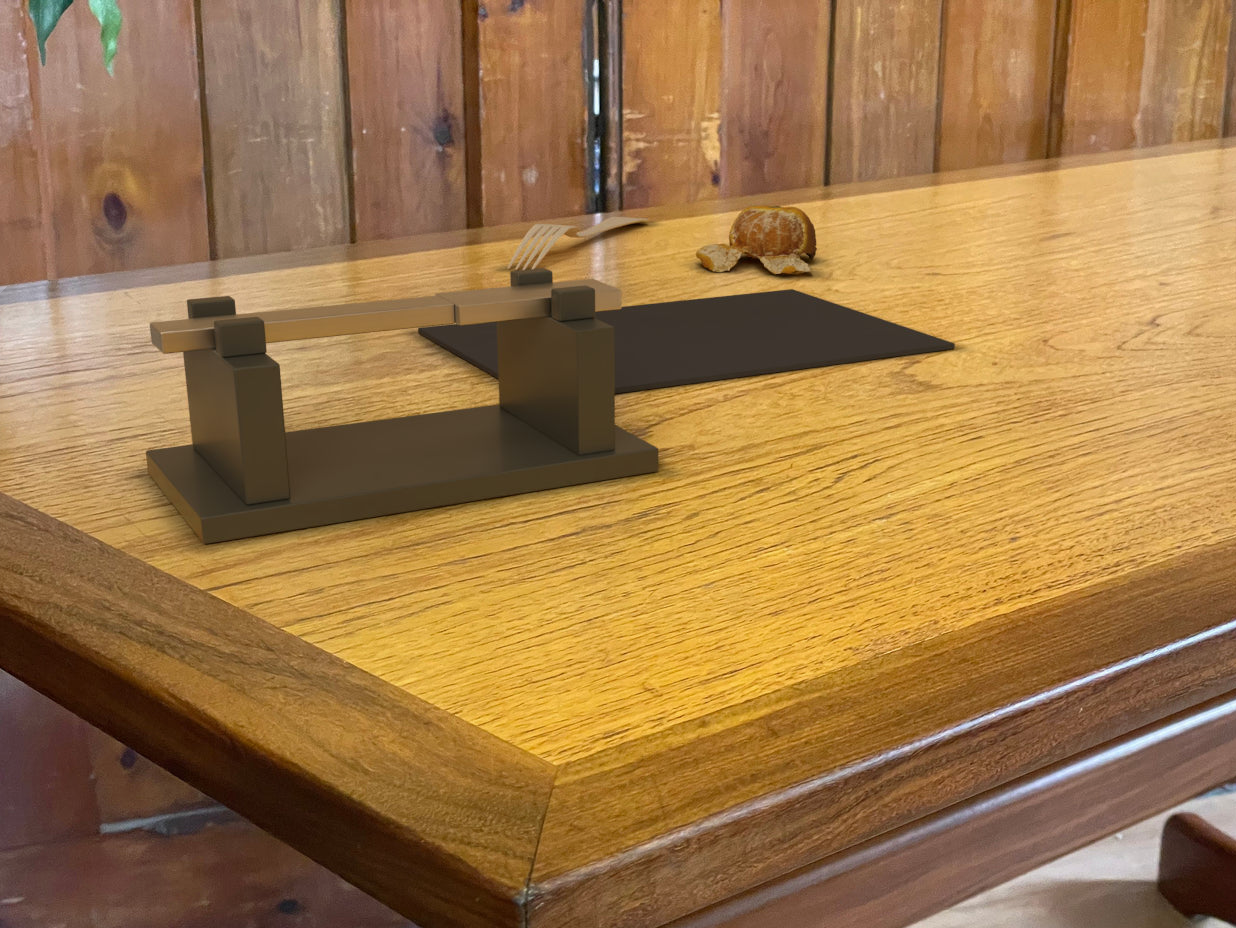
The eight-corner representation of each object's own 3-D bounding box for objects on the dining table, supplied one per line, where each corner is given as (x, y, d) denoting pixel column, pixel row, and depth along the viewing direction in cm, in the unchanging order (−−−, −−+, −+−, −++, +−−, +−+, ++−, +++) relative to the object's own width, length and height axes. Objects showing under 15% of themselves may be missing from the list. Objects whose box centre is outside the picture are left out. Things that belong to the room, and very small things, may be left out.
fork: (653, 254, 123) (654, 217, 122) (539, 271, 103) (540, 227, 103) (619, 251, 124) (620, 215, 123) (499, 268, 104) (500, 225, 104)
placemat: (540, 403, 74) (540, 397, 74) (418, 333, 87) (417, 327, 87) (954, 348, 85) (955, 343, 85) (792, 293, 98) (792, 289, 98)
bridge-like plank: (165, 357, 56) (162, 334, 56) (148, 341, 58) (146, 320, 58) (622, 309, 65) (622, 289, 65) (593, 297, 67) (593, 278, 67)
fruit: (686, 269, 105) (686, 212, 104) (731, 248, 112) (732, 195, 111) (806, 280, 102) (808, 222, 101) (844, 258, 110) (847, 204, 108)
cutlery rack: (203, 545, 56) (182, 342, 53) (147, 474, 63) (127, 293, 61) (659, 471, 65) (659, 294, 62) (564, 417, 72) (560, 256, 69)
